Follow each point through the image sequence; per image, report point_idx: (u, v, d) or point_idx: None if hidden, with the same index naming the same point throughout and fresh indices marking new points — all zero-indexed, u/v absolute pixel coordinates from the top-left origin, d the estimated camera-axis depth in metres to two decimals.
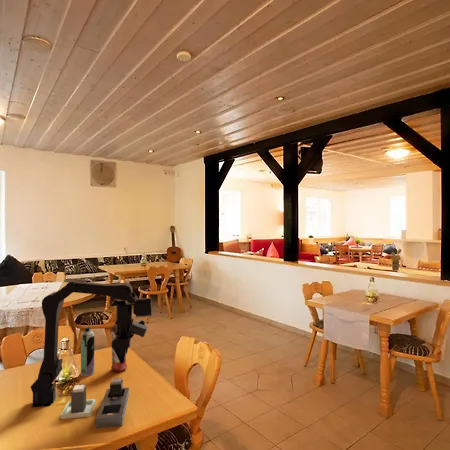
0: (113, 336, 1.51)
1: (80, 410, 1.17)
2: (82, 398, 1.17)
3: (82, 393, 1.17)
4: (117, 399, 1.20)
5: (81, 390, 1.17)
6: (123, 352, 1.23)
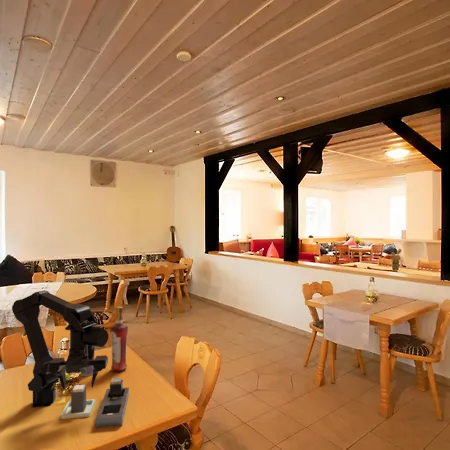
0: (113, 336, 1.51)
1: (80, 410, 1.17)
2: (82, 398, 1.17)
3: (82, 393, 1.17)
4: (117, 399, 1.20)
5: (81, 390, 1.17)
6: None
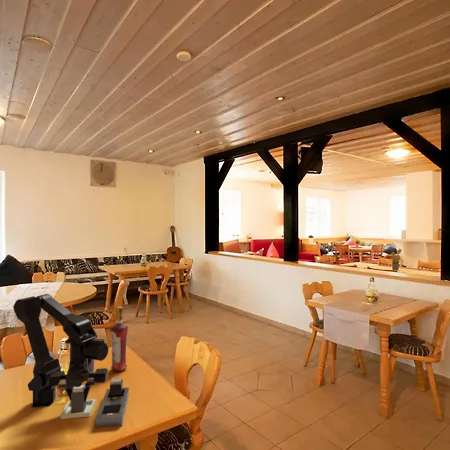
0: (113, 336, 1.51)
1: (80, 410, 1.17)
2: (82, 398, 1.17)
3: (82, 393, 1.17)
4: (117, 399, 1.20)
5: (81, 390, 1.17)
6: None
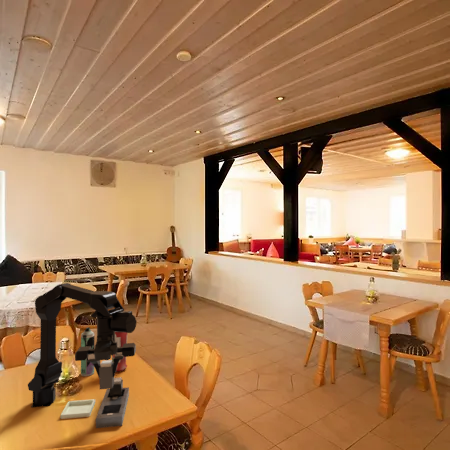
0: None
1: (109, 386, 1.13)
2: (110, 373, 1.13)
3: (110, 368, 1.13)
4: (117, 399, 1.20)
5: (109, 365, 1.13)
6: None
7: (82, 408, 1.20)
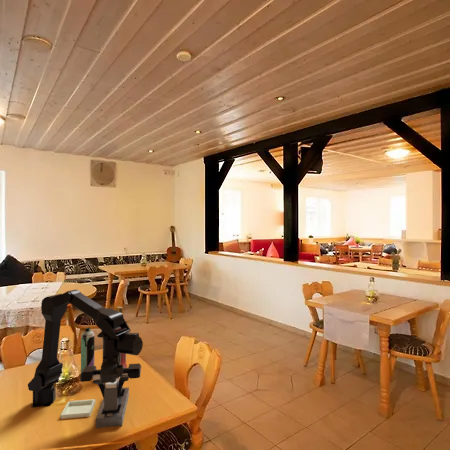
0: None
1: (114, 407, 1.12)
2: (115, 394, 1.12)
3: (115, 389, 1.12)
4: None
5: (114, 386, 1.12)
6: None
7: (82, 408, 1.20)
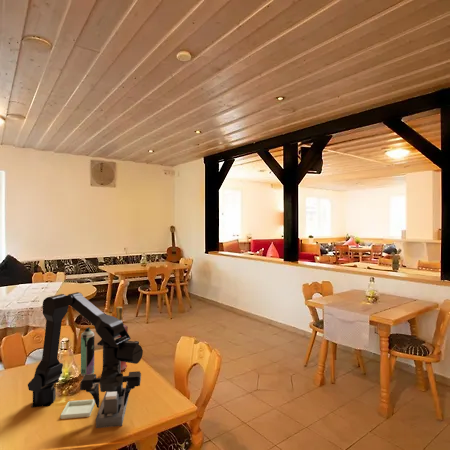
0: None
1: None
2: (115, 406, 1.12)
3: (115, 400, 1.12)
4: None
5: (114, 397, 1.12)
6: None
7: (82, 408, 1.20)
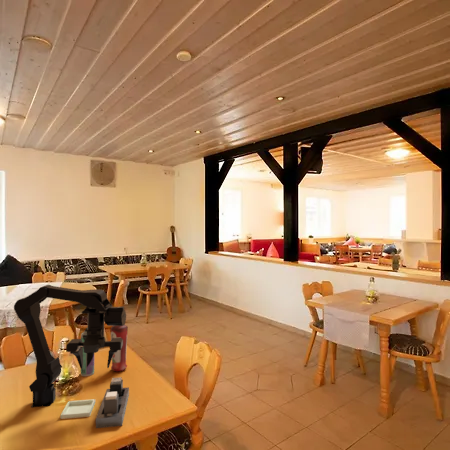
0: (113, 336, 1.51)
1: None
2: (115, 406, 1.12)
3: (115, 400, 1.12)
4: None
5: (114, 397, 1.12)
6: None
7: (82, 408, 1.20)
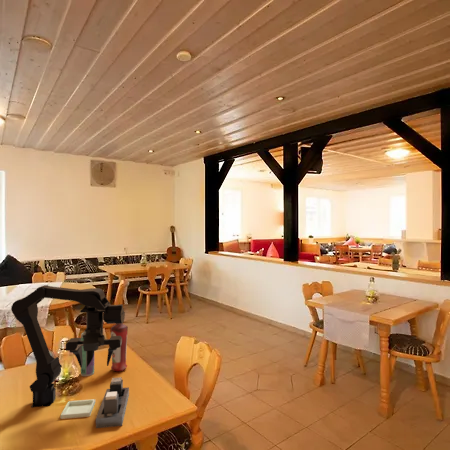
0: None
1: None
2: (115, 406, 1.12)
3: (115, 400, 1.12)
4: None
5: (114, 397, 1.12)
6: None
7: (82, 408, 1.20)
